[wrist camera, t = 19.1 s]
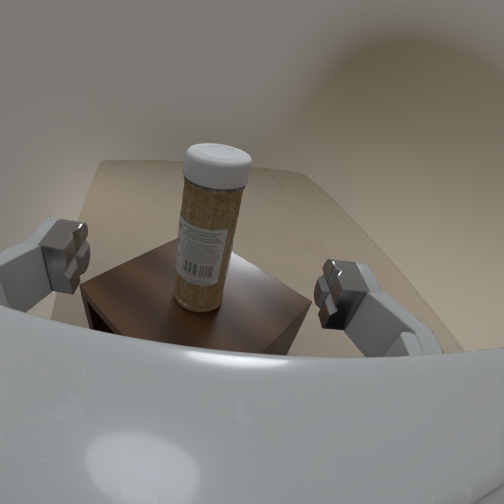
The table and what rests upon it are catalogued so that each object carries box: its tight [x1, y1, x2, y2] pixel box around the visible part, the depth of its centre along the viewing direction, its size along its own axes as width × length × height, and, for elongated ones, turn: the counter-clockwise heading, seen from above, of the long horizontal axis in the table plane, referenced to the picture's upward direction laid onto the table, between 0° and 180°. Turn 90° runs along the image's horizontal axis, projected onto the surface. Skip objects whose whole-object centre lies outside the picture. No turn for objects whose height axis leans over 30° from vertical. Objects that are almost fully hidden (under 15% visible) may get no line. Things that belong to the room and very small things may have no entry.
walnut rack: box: [80, 238, 312, 355], centre depth 30 cm, size 16×16×9 cm
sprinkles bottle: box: [174, 143, 252, 312], centre depth 23 cm, size 5×5×14 cm
